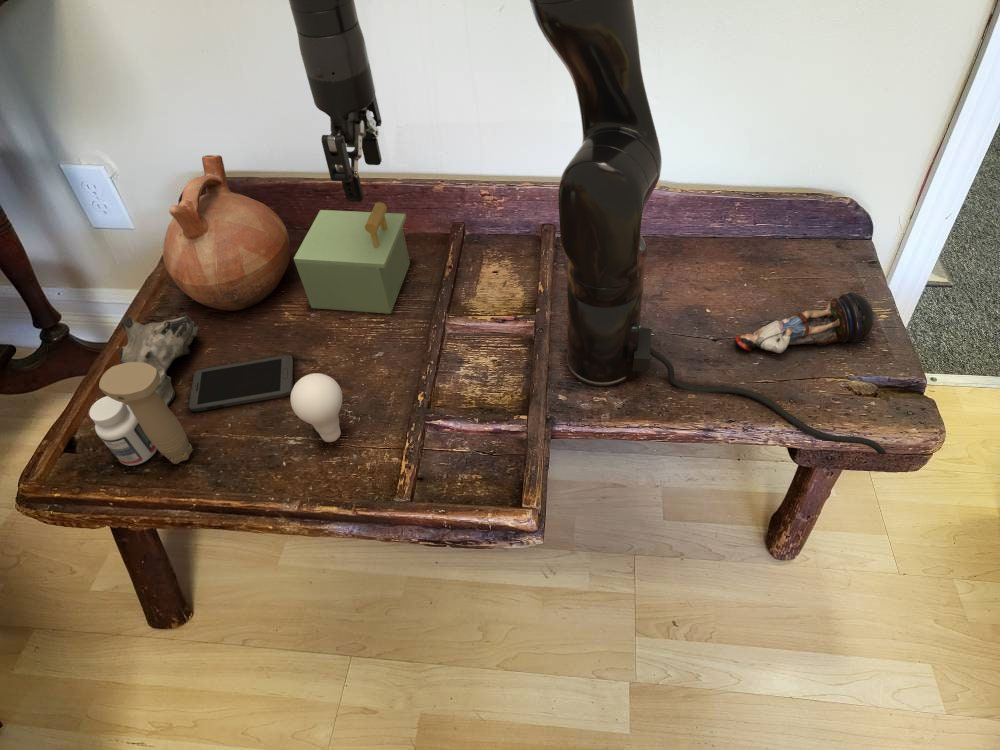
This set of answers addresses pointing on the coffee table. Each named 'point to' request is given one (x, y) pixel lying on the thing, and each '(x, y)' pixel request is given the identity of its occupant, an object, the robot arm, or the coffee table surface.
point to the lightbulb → (318, 404)
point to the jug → (224, 243)
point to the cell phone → (242, 383)
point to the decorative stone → (158, 346)
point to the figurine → (815, 326)
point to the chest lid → (351, 238)
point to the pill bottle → (121, 431)
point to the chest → (356, 283)
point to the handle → (147, 407)
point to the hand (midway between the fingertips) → (365, 181)
